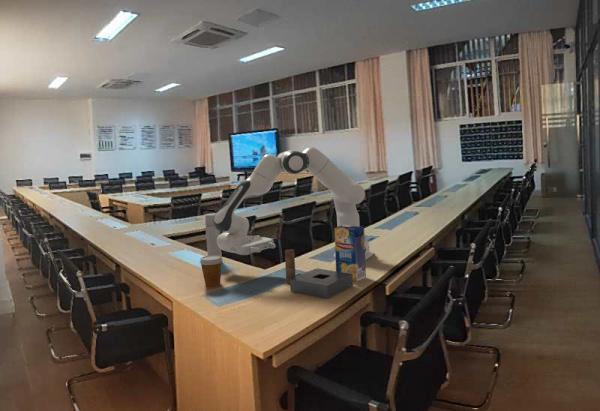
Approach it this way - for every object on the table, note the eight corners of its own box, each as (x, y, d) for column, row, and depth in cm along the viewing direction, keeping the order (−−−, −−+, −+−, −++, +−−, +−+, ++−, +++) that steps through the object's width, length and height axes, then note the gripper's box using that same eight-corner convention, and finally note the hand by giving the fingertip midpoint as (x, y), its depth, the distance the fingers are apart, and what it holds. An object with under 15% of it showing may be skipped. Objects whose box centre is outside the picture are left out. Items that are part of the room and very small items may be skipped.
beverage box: (345, 273, 199) (344, 225, 197) (366, 277, 192) (364, 227, 189) (336, 277, 195) (334, 227, 192) (356, 281, 187) (354, 229, 184)
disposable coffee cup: (199, 283, 194) (197, 256, 193) (221, 280, 198) (219, 253, 197) (204, 289, 186) (201, 261, 184) (226, 285, 189) (224, 258, 188)
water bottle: (225, 261, 231) (221, 214, 228) (210, 264, 227) (207, 216, 223) (217, 258, 239) (214, 212, 235) (203, 261, 234) (200, 214, 231)
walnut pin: (290, 280, 192) (288, 249, 190) (297, 282, 190) (296, 250, 188) (284, 283, 189) (282, 251, 187) (291, 284, 187) (290, 251, 185)
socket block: (316, 279, 192) (316, 268, 192) (352, 285, 181) (352, 273, 180) (290, 291, 178) (289, 279, 178) (327, 298, 167) (327, 285, 166)
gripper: (227, 242, 195) (250, 245, 187) (259, 234, 211) (281, 237, 203) (228, 256, 196) (251, 260, 187) (260, 247, 212) (282, 250, 203)
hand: (267, 248), depth 195 cm, fingers open, 8 cm apart
